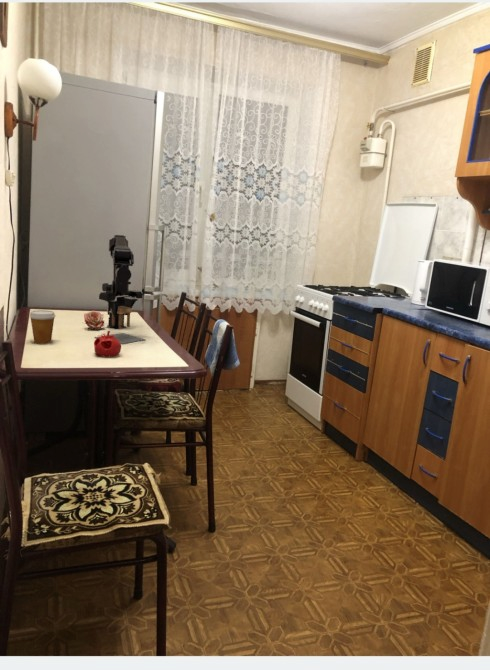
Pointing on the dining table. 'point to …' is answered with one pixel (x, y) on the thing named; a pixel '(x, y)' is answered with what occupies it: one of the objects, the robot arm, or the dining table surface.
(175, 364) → the dining table surface
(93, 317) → the flower
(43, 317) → the disposable coffee cup
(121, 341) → the mat
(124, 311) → the stool
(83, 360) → the dining table surface
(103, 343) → the pomegranate
